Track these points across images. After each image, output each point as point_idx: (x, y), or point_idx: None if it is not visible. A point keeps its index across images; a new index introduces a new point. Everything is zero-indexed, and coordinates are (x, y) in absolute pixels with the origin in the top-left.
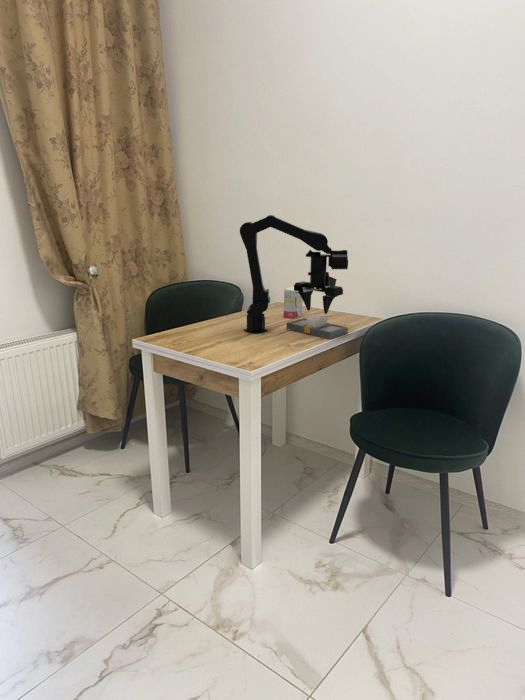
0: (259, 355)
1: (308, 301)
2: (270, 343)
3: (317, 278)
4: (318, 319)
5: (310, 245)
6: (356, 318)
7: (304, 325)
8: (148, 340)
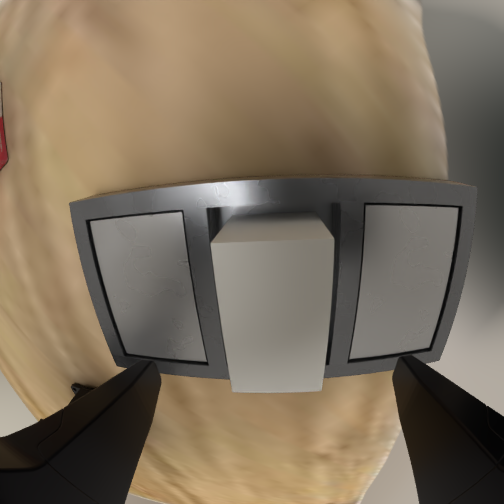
0: (314, 495)
1: (114, 453)
2: (264, 467)
3: None
4: (315, 349)
5: None
6: None
7: (225, 359)
8: None
